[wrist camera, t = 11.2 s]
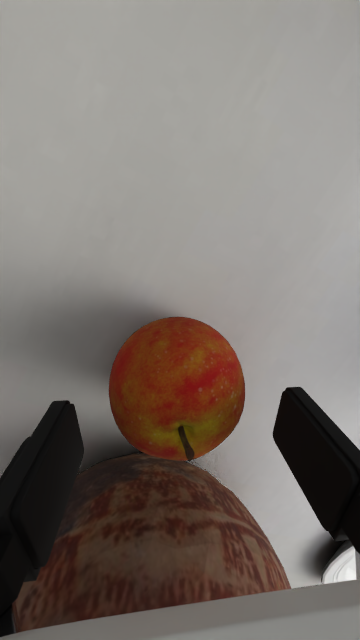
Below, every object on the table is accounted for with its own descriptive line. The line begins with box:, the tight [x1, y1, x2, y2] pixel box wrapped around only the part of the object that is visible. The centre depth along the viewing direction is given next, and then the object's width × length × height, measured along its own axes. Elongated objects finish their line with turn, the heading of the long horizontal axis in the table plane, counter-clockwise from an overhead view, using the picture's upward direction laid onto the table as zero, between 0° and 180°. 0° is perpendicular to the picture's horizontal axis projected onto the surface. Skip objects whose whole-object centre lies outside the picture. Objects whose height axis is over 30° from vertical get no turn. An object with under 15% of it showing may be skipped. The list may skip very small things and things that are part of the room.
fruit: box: [109, 317, 245, 461], centre depth 11 cm, size 7×7×8 cm
